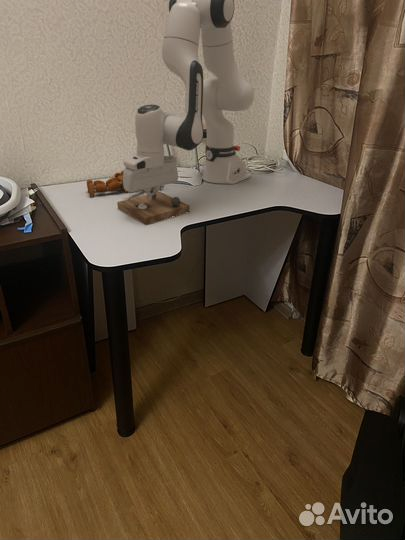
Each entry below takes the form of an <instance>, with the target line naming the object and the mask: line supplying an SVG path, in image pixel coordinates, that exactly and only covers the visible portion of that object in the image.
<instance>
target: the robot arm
mask: <svg viewBox="0 0 405 540" xmlns="http://www.w3.org/2000/svg"><path fill="white" fill-rule="evenodd" d="M168 12H169V14H168V16H167V21H166V24H165V30H164V33H163V41H162V48H161V56H162V61H163V63H164V65H165V66H166V67H167V69H168V70H169V71H170V72H171V73H173V74H174V75H176V76H177V77H178V78H180V79H181V81H182V82H183V83H184V87H185V106H184V114H183V115H177V114H170V113H169V112H166V111H164V110H163V109H162V108H161V107H160V105H158V104H144V105H142V106H140V107H139V108H138V109H137V110H136V113H135V122H134V125H135V126H134V127H135V131H134V132H135V139H136V143H137V144H136V152H135V153H134V154H132V155H131V156H129V157H127V158H125V159H124V160H123V166H124V167H125V168H124V169H123V170H124V171H123V170H122V171H123V186H124V189H125V190H126V191H128V193H129V192H132V193H135V192H139V191H143V190H144V192H145V194H146V195H148V200H153V199H157V194H158V192H160V190H161V186H165V185H169V184H174V183H177V182H178V180H179V172H178V166H177V165H178V164H177V158H176V156H174V155H173V154H172V155H171V154H170V155H166V156H165V146H164V145H167V146H171V147H176V148H179V149H182V150H186V151H188V152H189V151H192V150H195V149H196V148H197V147H198V146H199V145H200V144H201V143H202V141H203V138H204V125H203V119H204V122H205V127H206V144H205V150H204V151H205V152H204V153H205V161H204V162H205V163H204V169H203V174H202V177H201V179H202V180H203V181H204V182H208V183H212V184H227V185H235V184H237V183H239V182H242V181H244V180H246V179H250V178H251V177H252V174H251V172H248V171H247V164H246V162H245V161H244V160H243V159H242V158H241V157H240V156H238V154H237V152H239V151H240V150H241V146H239V145H234V137H235V128H234V125H233V122H232V121H230V120H228V119H227V118H226V117H225V115H224V114H223V113H224V112H223V111H228V112H242V111H248V110H249V109H250V107H251V106H252V104H253V102H254V99H255V92H254V88H253V86H252V84H251V83H249V82H248V81H247V80H246V79H245V78H244V77H243V75H242V74H241V72H240V71H239V69H238V67H237V64H236V59H235V54H234V53H235V52H234V43H233V42H234V41H233V39H234V38H233V29H232V20H233V18H234V13H235V1H234V0H169V2H168ZM200 36H201V37H200ZM200 38H201V47H202V53H203V54H202V55H203V64H204V66H205V68H206V69H207V71H209V72H210V73H212V74H213V75H214V76H215V77H216V78H204V69H203V67H202V64H201V63H200V62H199V51H198V50H199V43H200ZM236 151H237V152H236ZM151 188H154V191H153V193H150V191H151ZM124 189H123V190H124ZM126 191H125V192H126Z"/></svg>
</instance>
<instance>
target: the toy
mask: <svg viewBox="0 0 405 540" xmlns="http://www.w3.org/2000/svg"><path fill="white" fill-rule="evenodd" d="M123 171H124V169H123V170H122V171H120V172H115V173H114V175H113V176H114V177H111V178H109V179H107V180H106V181H105V182H104V180H99V179H98V180H97V179H96V180H92V179H88V180H86V188H87V192H88V194H89V196H90V197H89V198H91V199H93V198H94V197H95V193H96V192H97V193H101V194H105V193H108V192H112V193H113V192H116V191H119V190H122V189H123V190H124V192H125V193H126V194H132V193H133V192H128V191H126V190H125V189H124V186H123Z"/></svg>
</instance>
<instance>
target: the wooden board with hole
mask: <svg viewBox="0 0 405 540" xmlns="http://www.w3.org/2000/svg"><path fill="white" fill-rule="evenodd" d="M172 198H173V196H170V195H168V194H165V193H163V192H161V191H159V192H158V194H157V199H153V200H148V195H147V194H144V195H141V196H137V197H133V198H128V199H124V200H120V201H117V202H116V205H117V210H119V211H121V212H122V213H124V214H126V215H128V216H129V217H131V218H132V219H135V220H137V221H138V222H139V223H142V224H144V225H146V226H148V225H151V224H155V223H158V222H161V220H162V221H164V219H165V220H167V218H168V219H171V218H170V217H172V216H175V217H177V216H176V215H179V214H182V213H185V214H187V213H186V212H189V213H190V205H189V204H187V203H186V202H183V201H181V202H180V205H178V206H173V205H172V203H171V200H172ZM140 204H146V205H147V207H148V208H146V209H143V210H141V209H139V208H138V206H139V205H140ZM182 215H183V214H182ZM179 216H180V215H179ZM172 218H173V217H172Z"/></svg>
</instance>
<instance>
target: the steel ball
mask: <svg viewBox="0 0 405 540" xmlns="http://www.w3.org/2000/svg"><path fill="white" fill-rule="evenodd" d="M138 208H139V209H141V210H143V209H146V208H148V207H147V205H146V204H140V205H139V206H138Z"/></svg>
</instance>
